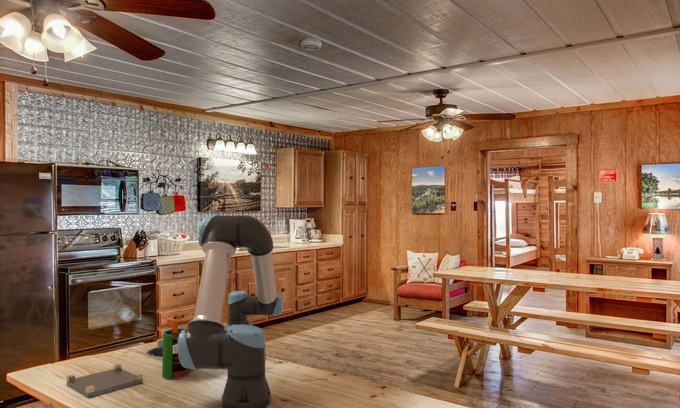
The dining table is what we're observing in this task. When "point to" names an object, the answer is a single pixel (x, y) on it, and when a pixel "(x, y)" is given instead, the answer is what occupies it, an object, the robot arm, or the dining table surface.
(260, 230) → the robot arm
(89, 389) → the plate
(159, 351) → the dark slate chunk
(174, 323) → the motor
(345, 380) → the dining table surface
